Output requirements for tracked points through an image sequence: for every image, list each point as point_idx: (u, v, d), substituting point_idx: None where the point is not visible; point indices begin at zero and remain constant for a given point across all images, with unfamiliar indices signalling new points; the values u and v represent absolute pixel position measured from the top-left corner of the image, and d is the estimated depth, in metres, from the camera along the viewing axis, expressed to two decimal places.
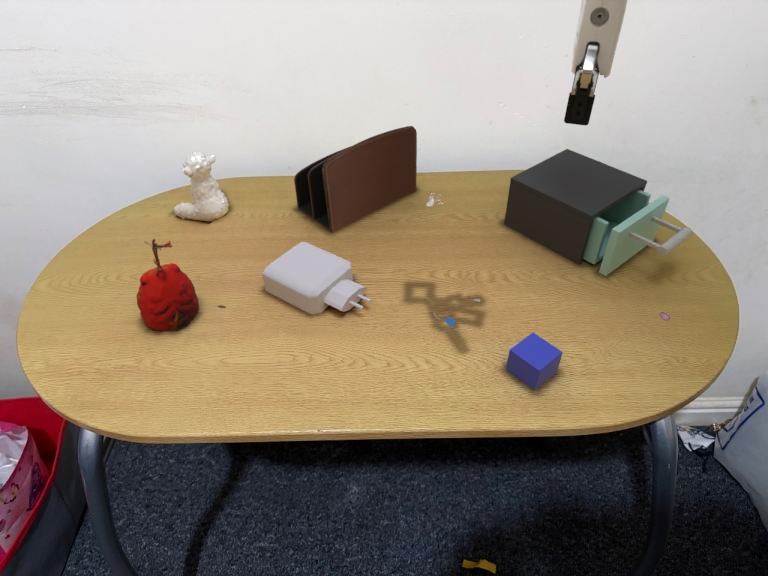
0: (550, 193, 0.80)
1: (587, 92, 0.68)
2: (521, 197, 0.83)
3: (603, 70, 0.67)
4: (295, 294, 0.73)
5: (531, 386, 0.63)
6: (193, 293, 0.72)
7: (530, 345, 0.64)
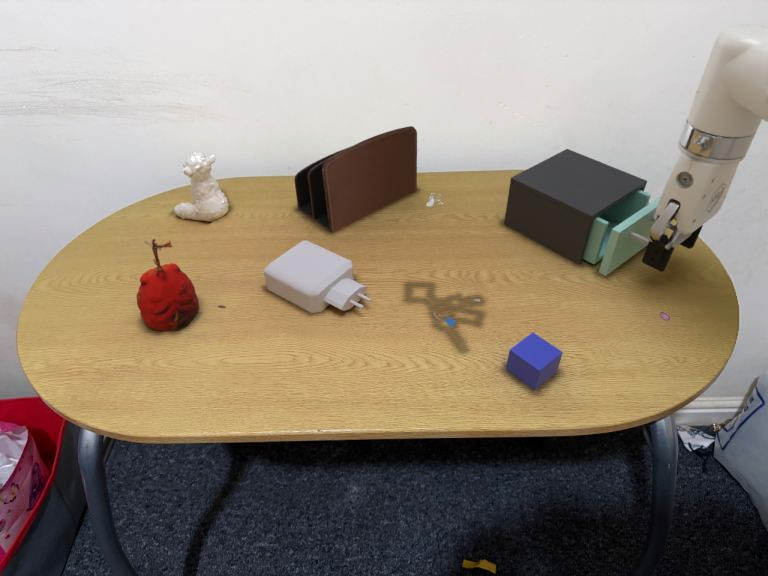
0: (550, 193, 0.80)
1: (661, 244, 0.70)
2: (521, 197, 0.83)
3: (681, 228, 0.68)
4: (295, 292, 0.73)
5: (531, 386, 0.63)
6: (193, 293, 0.72)
7: (530, 345, 0.64)
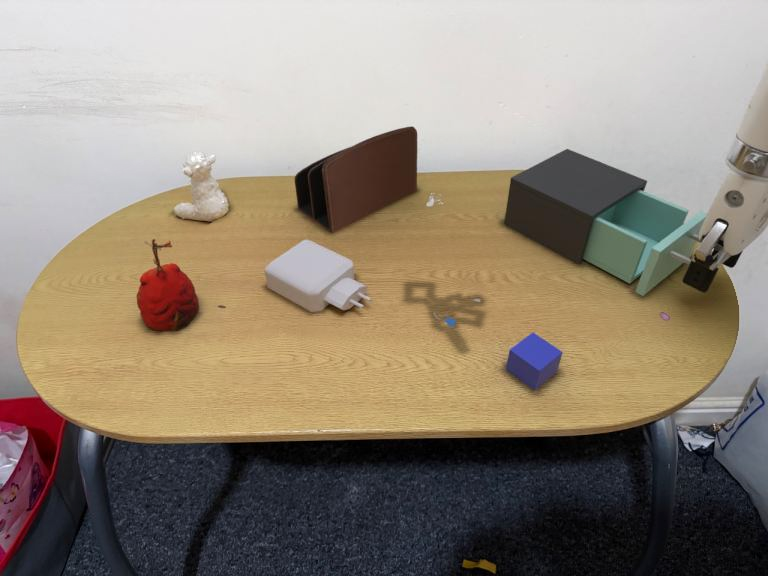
0: (550, 193, 0.80)
1: (705, 265, 0.67)
2: (521, 197, 0.83)
3: (728, 248, 0.64)
4: (296, 291, 0.74)
5: (531, 386, 0.63)
6: (193, 293, 0.72)
7: (530, 345, 0.64)
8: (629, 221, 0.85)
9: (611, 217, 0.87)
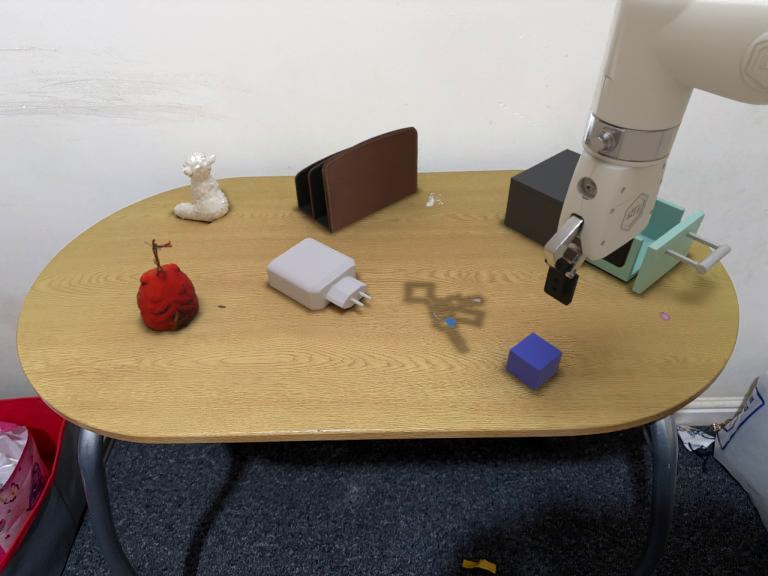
0: (550, 193, 0.80)
1: (559, 271, 0.52)
2: (521, 197, 0.83)
3: (587, 252, 0.51)
4: (297, 289, 0.74)
5: (531, 386, 0.63)
6: (193, 293, 0.72)
7: (530, 345, 0.64)
8: None
9: None
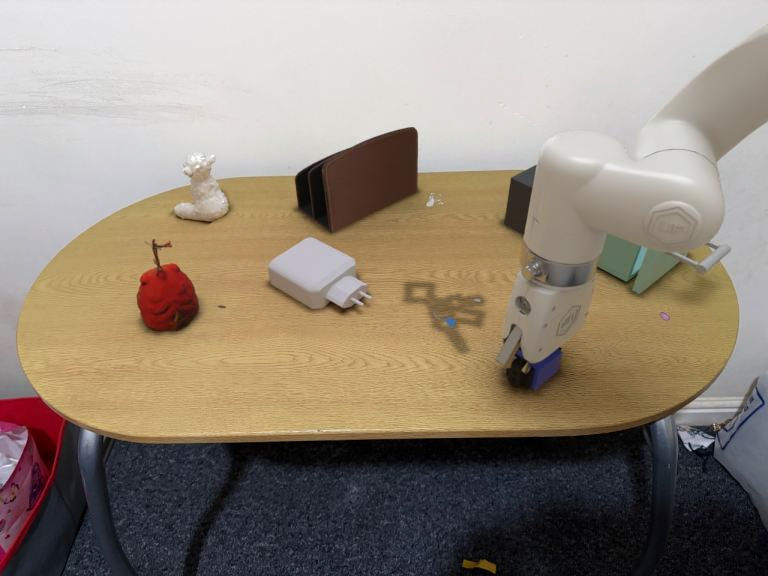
0: None
1: (516, 368, 0.60)
2: (521, 197, 0.83)
3: (527, 357, 0.57)
4: (297, 288, 0.74)
5: (531, 386, 0.63)
6: (193, 293, 0.72)
7: None
8: None
9: None
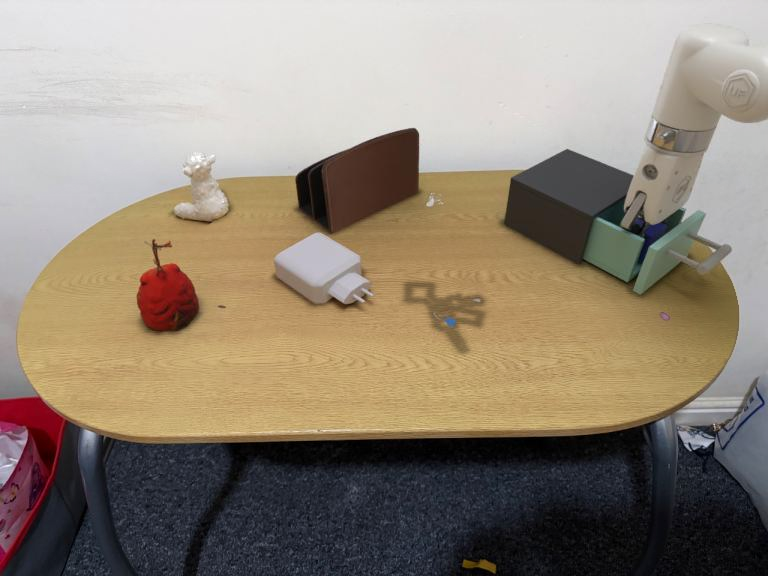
0: (550, 193, 0.80)
1: None
2: (521, 197, 0.83)
3: (648, 218, 0.71)
4: (301, 282, 0.75)
5: (641, 253, 0.77)
6: (193, 293, 0.72)
7: (639, 220, 0.78)
8: None
9: (609, 216, 0.87)
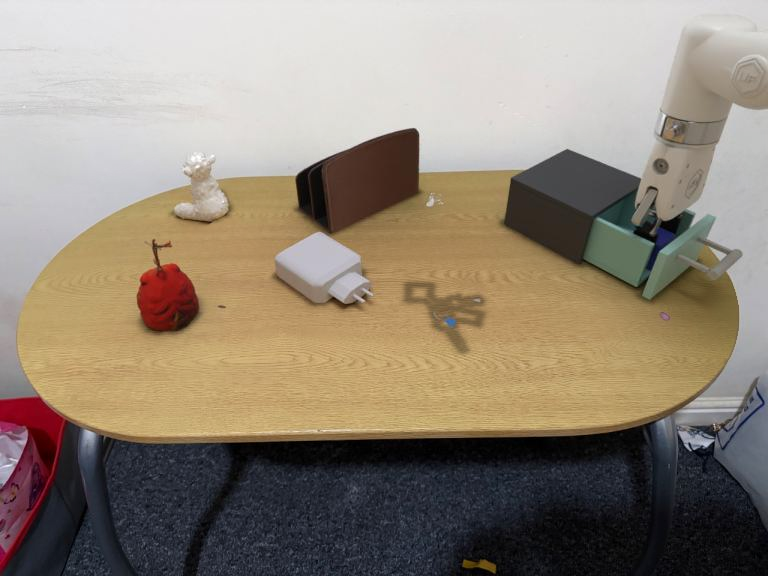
0: (550, 193, 0.80)
1: (645, 231, 0.72)
2: (521, 197, 0.83)
3: (660, 214, 0.69)
4: (301, 281, 0.75)
5: (649, 263, 0.77)
6: (193, 293, 0.72)
7: None
8: None
9: (617, 220, 0.86)
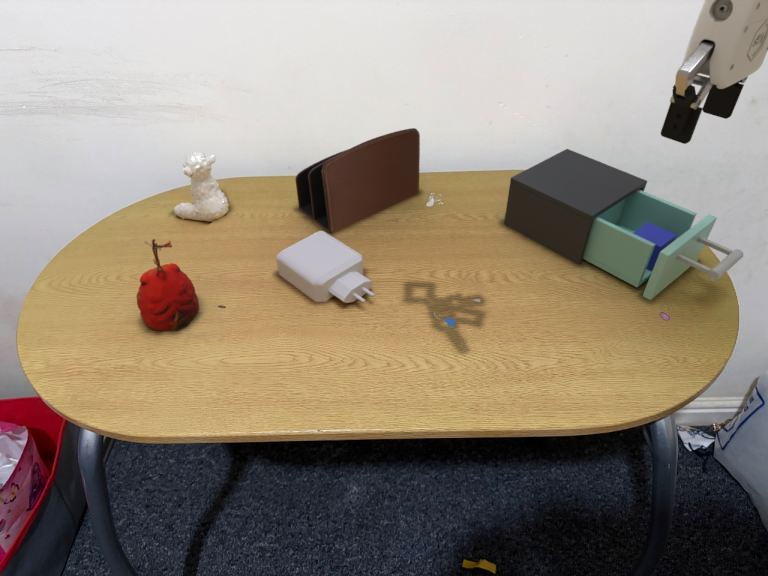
0: (550, 193, 0.80)
1: (686, 101, 0.55)
2: (521, 197, 0.83)
3: (715, 78, 0.54)
4: (302, 280, 0.75)
5: (650, 263, 0.77)
6: (193, 293, 0.72)
7: (648, 230, 0.77)
8: (636, 224, 0.84)
9: (617, 220, 0.86)
